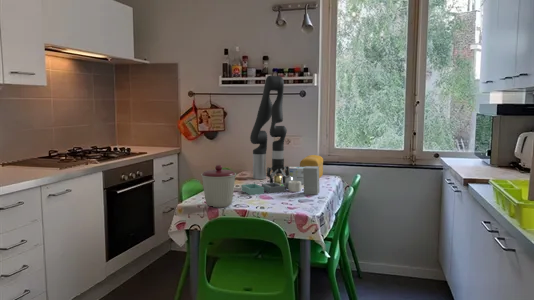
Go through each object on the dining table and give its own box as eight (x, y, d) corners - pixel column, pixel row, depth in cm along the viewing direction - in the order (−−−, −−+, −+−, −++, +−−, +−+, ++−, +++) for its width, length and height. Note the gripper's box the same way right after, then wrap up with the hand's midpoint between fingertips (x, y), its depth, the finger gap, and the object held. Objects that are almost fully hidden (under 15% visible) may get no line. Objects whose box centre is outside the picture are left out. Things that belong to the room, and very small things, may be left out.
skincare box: (319, 192, 251) (320, 166, 249) (317, 195, 244) (317, 168, 242) (305, 191, 253) (306, 165, 251) (302, 194, 247) (303, 167, 245)
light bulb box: (305, 182, 281) (305, 166, 280) (305, 184, 275) (305, 168, 273) (289, 182, 282) (289, 166, 281) (288, 184, 276) (288, 167, 274)
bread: (317, 180, 289) (318, 158, 287) (299, 179, 293) (299, 158, 291) (323, 174, 312) (323, 154, 311) (306, 173, 316) (306, 153, 314)
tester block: (261, 189, 259) (261, 182, 259) (276, 188, 263) (276, 181, 263) (269, 193, 248) (269, 186, 248) (285, 191, 253) (285, 185, 252)
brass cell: (272, 186, 269) (272, 174, 269) (279, 185, 271) (279, 173, 271) (276, 187, 265) (276, 175, 264) (282, 187, 267) (282, 175, 266)
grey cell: (283, 187, 264) (283, 175, 263) (290, 187, 266) (290, 175, 265) (287, 189, 260) (287, 177, 259) (294, 188, 262) (294, 176, 261)
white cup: (286, 189, 258) (286, 181, 258) (297, 188, 261) (297, 180, 261) (291, 192, 251) (291, 183, 251) (303, 191, 255) (303, 182, 254)
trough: (241, 190, 256) (241, 184, 255) (254, 189, 259) (254, 183, 259) (250, 195, 244) (250, 189, 243) (263, 193, 247) (263, 187, 247)
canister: (240, 202, 227) (240, 163, 224) (230, 210, 209) (230, 168, 207) (208, 200, 231) (208, 161, 228) (195, 208, 213) (195, 166, 211)
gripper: (285, 156, 273) (285, 181, 274) (265, 157, 267) (265, 183, 268) (290, 157, 266) (290, 183, 268) (270, 159, 260) (270, 185, 262)
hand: (277, 183), depth 268 cm, fingers open, 8 cm apart
